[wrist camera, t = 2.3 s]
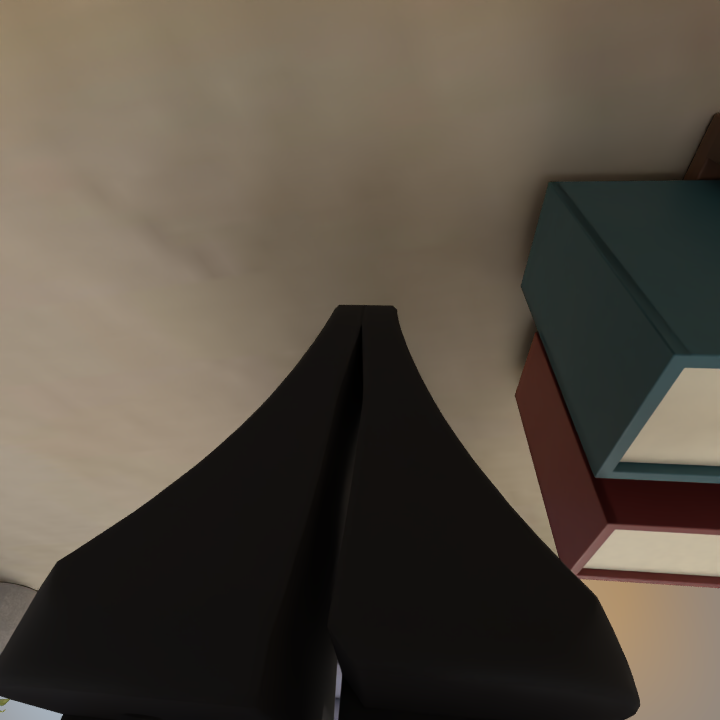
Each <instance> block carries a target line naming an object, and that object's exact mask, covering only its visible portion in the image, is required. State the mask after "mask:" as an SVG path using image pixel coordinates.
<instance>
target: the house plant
mask: <svg viewBox="0 0 720 720" xmlns="http://www.w3.org/2000/svg"><path fill="white" fill-rule="evenodd" d="M36 593H37V591H35V590H33V589H30V588H27V587H24V586H20V585H16V584H10V583H0V655H1V653H2V651H3V650H4V648H5V646H6V644H7V643H8V641H9V639H10V638H11V636H12V634H13V632H14V631H15V629H16V627H17V626H18V624H19V622H20V621H21V619H22V617H23V615H24V614H25V612H26V610H27V609H28V607H29V605H30V604H31V602H32V600H33V598H34V597H35V595H36ZM9 700H10V699H0V706H3V705H5V704H6V703H7V702H8V701H9ZM4 711H5V710H4ZM4 711H3V712H4ZM0 712H2V711H0Z"/></svg>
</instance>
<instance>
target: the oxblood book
mask: <svg viewBox="0 0 720 720" xmlns="http://www.w3.org/2000/svg"><path fill="white" fill-rule="evenodd" d="M515 397H516V401H517V405H518V408H519V412H520V416H521V420H522V423H523V427H524V431H525V434H526V438H527V442H528V445H529V449H530V453H531V456H532V460H533V464H534V468H535V471H536V475H537V479H538V482H539V486H540V490H541V493H542V497H543V501H544V504H545V508H546V512H547V516H548V519H549V523H550V527H551V530H552V534H553V538H554V541H555V545H556V549H557V553H558V556H559V559H560V560H561V561H562V562H563V563H564V564H565V565H566V566H567V567H568V568H569V569H570V570H571V571H572V572H573V573H574V574H575V575H576V576H577V577H578V578H579V579H590V580H604V581H605V580H606V581H620V582H635V583H652V584H666V585H681V586H696V587H711V588H720V483H699V482H677V481H656V480H634V479H613V478H595V477H594V475H593V472H592V470H591V467H590V465H589V462H588V459H587V457H586V454H585V452H584V449H583V446H582V444H581V441H580V439H579V436H578V433H577V431H576V428H575V426H574V423H573V421H572V418H571V415H570V413H569V410H568V408H567V405H566V402H565V400H564V397H563V395H562V392H561V389H560V387H559V384H558V382H557V379H556V376H555V374H554V371H553V369H552V366H551V364H550V361H549V358H548V356H547V353H546V351H545V348H544V345H543V343H542V340H541V338H540V335H539V332H535V335H534V338H533V341H532V344H531V347H530V350H529V353H528V356H527V360H526V363H525V366H524V369H523V372H522V375H521V378H520V381H519V384H518V387H517V390H516V393H515Z"/></svg>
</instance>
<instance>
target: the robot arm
mask: <svg viewBox="0 0 720 720" xmlns="http://www.w3.org/2000/svg"><path fill="white" fill-rule="evenodd" d="M0 696H2V697H5V698H8V699H11V700H15V701H18V702H22V703H25V704H29V705H32V706H36V707H40V708H43V709H47V710H50V711H54V712H57V713H61V714H63V716H62V718H61V720H625V719H627V718H629V717H631V716H633V715H634V714H636V712H637V710H638V708H639V707H640V699H639V695H638V692H637V689H636V686H635V682H634V679H633V676H632V673H631V670H630V668H629V665H628V662H627V660H626V657H625V655H624V653H623V651H622V648H621V646H620V644H619V642H618V639H617V637H616V635H615V632H614V630H613V628H612V626H611V624H610V622H609V620H608V618H607V616H606V614H605V612H604V610H603V608H602V606H601V604H600V602H599V600H598V598H597V597H596V595H595V594H594V593H593V592H592V591H591V590H590V589H589V588H588V587H587V586H586V585H585V584H584V583H583V582H582V581H581V580H580V579H579V578H578V577H577V576H576V575H575V574H574V573H573V572H572V571H571V570H570V569H569V568H568V567H567V566H566V565H565V564H564V563H563V562H562V561H561V560H560V559H559V558H558V557H557V556H556V555H555V554H554V553H553V552H552V550H551V549H550V548H549V547H548V546H547V545H546V544H545V543H544V542H543V541H542V540H541V539H540V538H539V537H538V536H537V535H536V534H535V532H534V531H533V530H532V529H531V528H530V527H529V526H528V525H527V523H526V522H525V521H524V520H523V519H522V518H521V517H520V516H519V515H518V513H517V512H516V511H515V510H514V509H513V508H512V507H511V506H510V504H509V503H508V502H507V501H506V500H505V498H504V497H503V496H502V495H501V493H500V492H499V491H498V490H497V488H496V487H495V486H494V485H493V484H492V482H491V481H490V480H489V479H488V477H487V476H486V475H485V474H484V472H483V471H482V470H481V469H480V468H479V466H478V465H477V464H476V463H475V461H474V460H473V459H472V457H471V456H470V454H469V453H468V452H467V450H466V449H465V448H464V446H463V445H462V443H461V442H460V441H459V439H458V438H457V436H456V435H455V433H454V432H453V430H452V429H451V427H450V426H449V424H448V423H447V421H446V420H445V418H444V417H443V415H442V413H441V412H440V410H439V408H438V407H437V405H436V403H435V402H434V400H433V398H432V396H431V395H430V393H429V391H428V389H427V387H426V385H425V384H424V382H423V380H422V378H421V376H420V374H419V372H418V370H417V367H416V365H415V363H414V361H413V359H412V357H411V354H410V352H409V350H408V347H407V345H406V342H405V339H404V336H403V334H402V331H401V327H400V324H399V319H398V314H397V309H396V308H395V307H393V306H383V305H339V306H338V307H336V308H335V310H334V311H333V313H332V315H331V316H330V318H329V320H328V321H327V323H326V324H325V326H324V328H323V329H322V331H321V332H320V334H319V335H318V336H317V338H316V339H315V341H314V342H313V344H312V345H311V346H310V348H309V349H308V350H307V352H306V353H305V354H304V356H303V357H302V358H301V360H300V361H299V362H298V364H297V365H296V366H295V367H294V369H293V370H292V371H291V372H290V373H289V375H288V376H287V377H286V378H285V379H284V381H283V382H282V383H281V384H280V385H279V386H278V388H277V389H276V390H275V391H274V392H273V393H272V395H271V396H270V397H269V398H268V399H267V400H266V401H265V402H264V403H263V404H262V405H261V406H260V407H259V408H258V409H257V410H256V411H255V412H254V413H253V414H252V415H251V416H250V417H249V418H248V419H247V420H246V421H245V422H244V423H243V424H242V425H241V426H240V427H239V428H238V429H237V430H236V431H235V432H234V433H233V434H231V435H230V436H229V437H228V438H227V439H226V440H225V441H224V442H222V443H221V444H220V445H219V446H218V447H217V448H216V449H215V450H214V451H212V452H211V453H210V454H209V455H208V456H206V457H205V458H204V459H203V460H202V461H200V462H199V463H198V464H197V465H196V466H194V467H193V468H192V469H190V470H189V471H188V472H187V473H185V474H184V475H183V476H181V477H180V478H179V479H177V480H176V481H175V482H173V483H172V484H171V485H169V486H168V487H167V488H166V489H164V490H163V491H162V492H160V493H159V494H158V495H156V496H155V497H154V498H152V499H151V500H150V501H148V502H147V503H146V504H144V505H143V506H141V507H140V508H139V509H137V510H136V511H134V512H133V513H131V514H130V515H128V516H127V517H125V518H124V519H122V520H121V521H119V522H118V523H116V524H115V525H113V526H112V527H110V528H109V529H107V530H106V531H104V532H103V533H101V534H100V535H98V536H96V537H95V538H93V539H92V540H90V541H89V542H87V543H86V544H84V545H83V546H81V547H80V548H78V549H77V550H75V551H74V552H72V553H70V554H69V555H67V556H66V557H64V558H62V559H61V560H59V561H57V563H56V564H55V566H54V567H53V569H52V570H51V572H50V573H49V575H48V576H47V578H46V579H45V581H44V583H43V584H42V586H41V587H40V589H39V590H38V592H37V593H36V595H35V597H34V598H33V600H32V602H31V604H30V605H29V607H28V609H27V610H26V612H25V614H24V615H23V617H22V619H21V621H20V622H19V624H18V626H17V627H16V629H15V631H14V632H13V634H12V636H11V638H10V639H9V641H8V643H7V644H6V646H5V648H4V650H3V651H2V653H1V655H0Z"/></svg>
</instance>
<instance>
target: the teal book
mask: <svg viewBox="0 0 720 720" xmlns="http://www.w3.org/2000/svg"><path fill="white" fill-rule="evenodd" d="M521 288H522V291H523V294H524V296H525V299H526V301H527V304H528V307H529V309H530V312H531V314H532V317H533V320H534V322H535V325H536V327H537V330H538V332H539V335H540V338H541V340H542V343H543V345H544V348H545V351H546V353H547V356H548V358H549V361H550V364H551V366H552V369H553V371H554V374H555V376H556V379H557V382H558V384H559V387H560V389H561V392H562V395H563V397H564V400H565V402H566V405H567V408H568V410H569V413H570V415H571V418H572V421H573V423H574V426H575V428H576V431H577V433H578V436H579V439H580V441H581V444H582V446H583V449H584V452H585V454H586V457H587V459H588V462H589V465H590V467H591V470H592V472H593V475H594V477H595V478H613V479H634V480H656V481H677V482H699V483H720V180H680V181H574V182H549V183H548V187H547V190H546V194H545V198H544V201H543V205H542V209H541V213H540V216H539V220H538V224H537V228H536V231H535V235H534V239H533V242H532V246H531V250H530V254H529V257H528V261H527V265H526V269H525V272H524V276H523V280H522V284H521Z"/></svg>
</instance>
